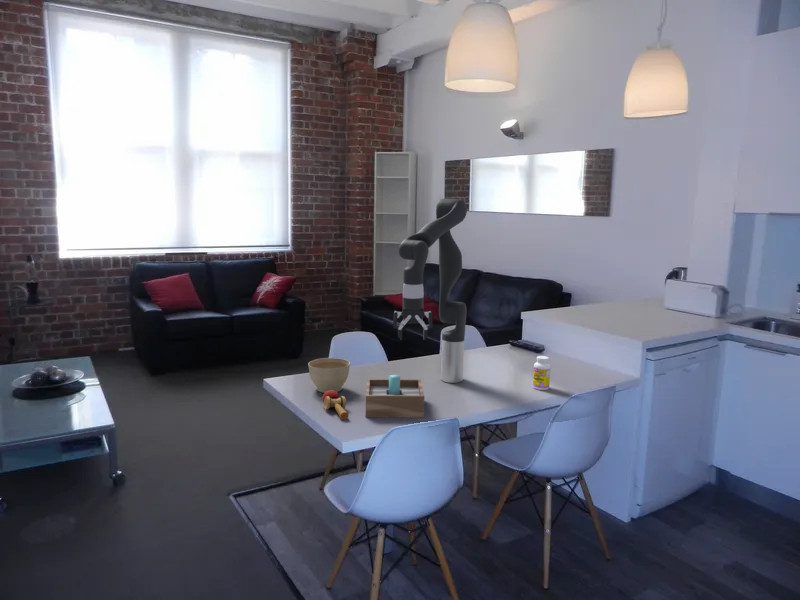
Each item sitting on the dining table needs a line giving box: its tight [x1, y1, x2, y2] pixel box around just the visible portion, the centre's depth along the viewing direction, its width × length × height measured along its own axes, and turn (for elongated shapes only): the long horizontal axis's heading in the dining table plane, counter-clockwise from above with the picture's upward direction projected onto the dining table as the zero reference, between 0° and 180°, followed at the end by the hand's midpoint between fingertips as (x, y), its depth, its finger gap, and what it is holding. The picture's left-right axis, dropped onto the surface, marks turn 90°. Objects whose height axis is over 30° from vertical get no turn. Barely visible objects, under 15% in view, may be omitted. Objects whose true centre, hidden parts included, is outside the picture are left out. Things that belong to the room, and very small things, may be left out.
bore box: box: [365, 378, 425, 418], centre depth 215 cm, size 20×20×8 cm
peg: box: [388, 374, 401, 395], centre depth 216 cm, size 4×4×11 cm
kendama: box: [322, 390, 349, 421], centre depth 210 cm, size 8×6×18 cm
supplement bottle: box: [532, 355, 552, 391], centre depth 241 cm, size 7×7×13 cm
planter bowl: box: [307, 357, 351, 394], centre depth 233 cm, size 16×16×11 cm
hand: (412, 339), depth 218 cm, fingers open, 8 cm apart
